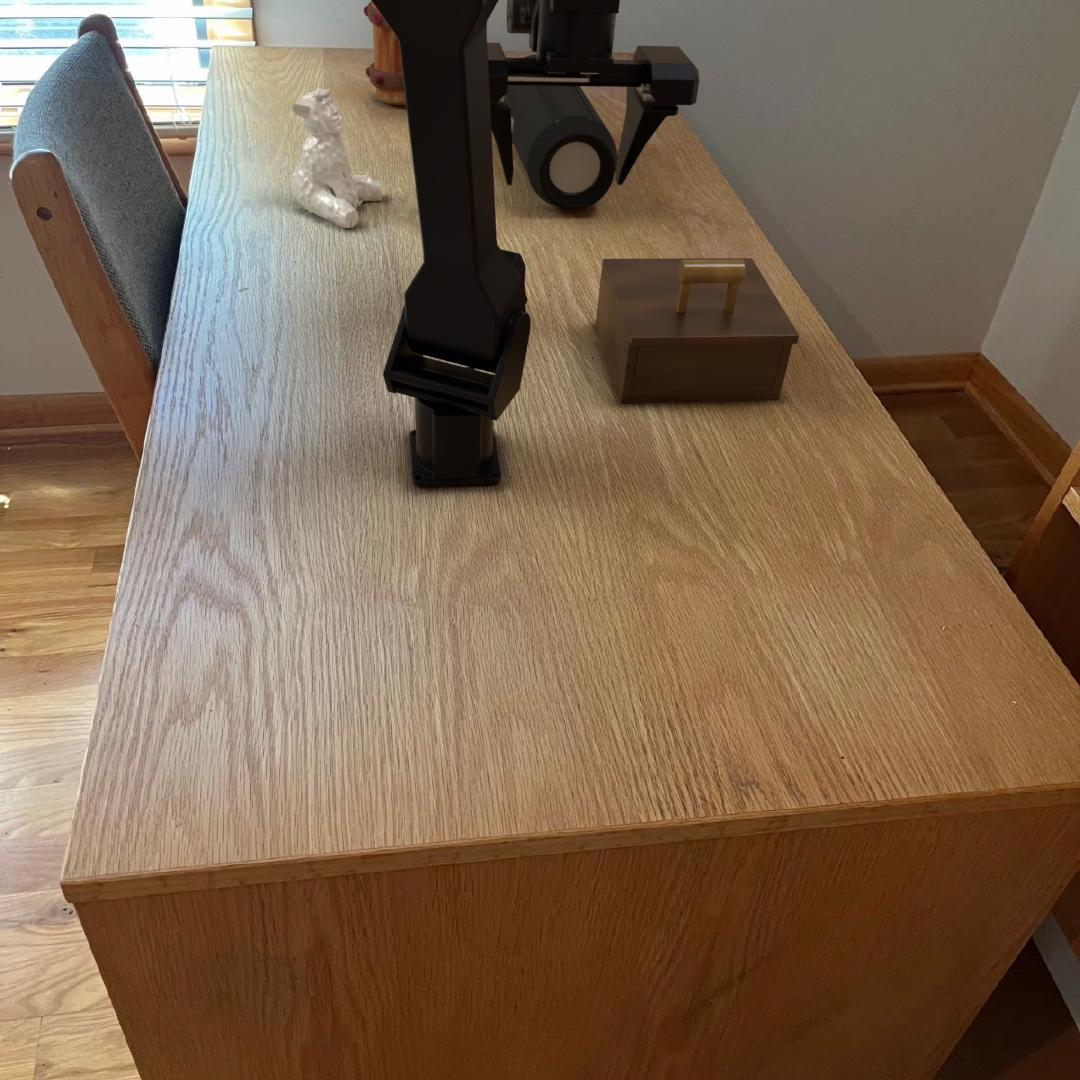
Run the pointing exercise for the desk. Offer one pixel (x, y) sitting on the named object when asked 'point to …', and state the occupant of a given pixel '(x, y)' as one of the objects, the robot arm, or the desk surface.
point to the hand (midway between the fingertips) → (564, 183)
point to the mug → (385, 60)
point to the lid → (696, 302)
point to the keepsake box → (686, 365)
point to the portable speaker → (562, 144)
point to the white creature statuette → (328, 165)
